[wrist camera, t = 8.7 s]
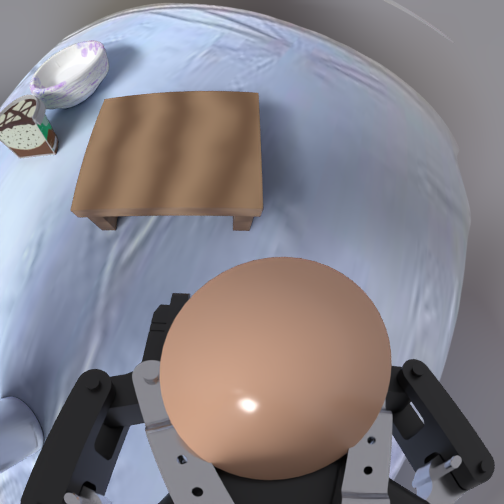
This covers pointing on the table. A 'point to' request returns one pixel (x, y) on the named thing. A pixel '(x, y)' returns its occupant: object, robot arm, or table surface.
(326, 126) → the table surface
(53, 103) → the paper bowls
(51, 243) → the table surface
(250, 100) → the footstool
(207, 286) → the peach rounded cylinder
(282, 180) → the table surface
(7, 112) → the food container
